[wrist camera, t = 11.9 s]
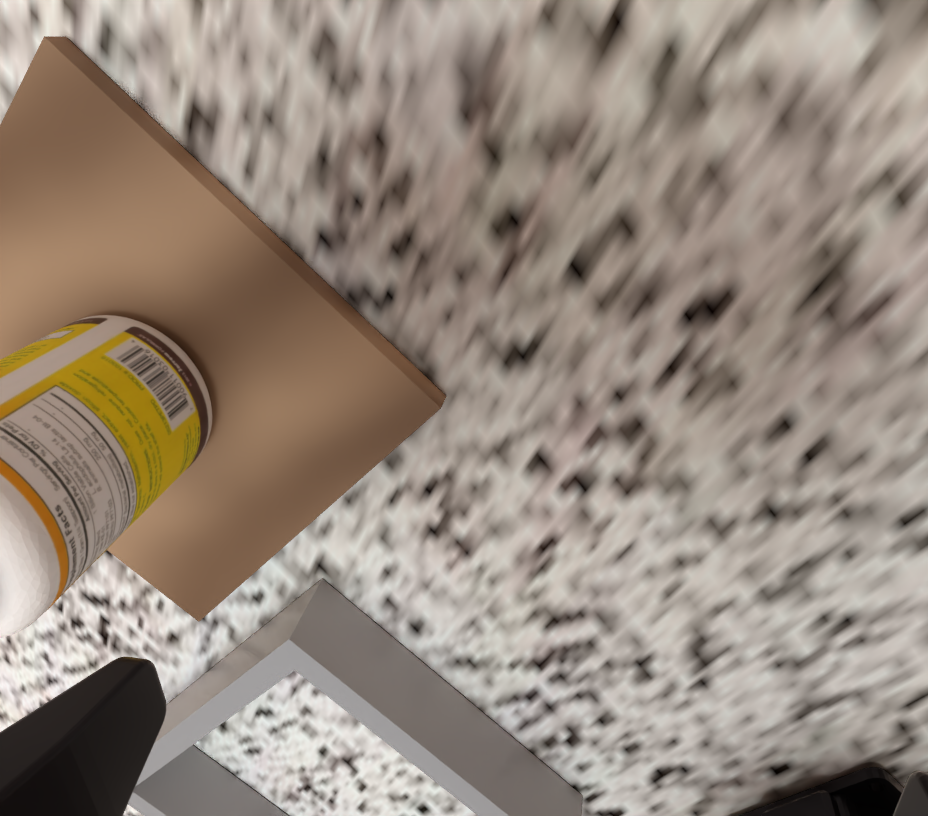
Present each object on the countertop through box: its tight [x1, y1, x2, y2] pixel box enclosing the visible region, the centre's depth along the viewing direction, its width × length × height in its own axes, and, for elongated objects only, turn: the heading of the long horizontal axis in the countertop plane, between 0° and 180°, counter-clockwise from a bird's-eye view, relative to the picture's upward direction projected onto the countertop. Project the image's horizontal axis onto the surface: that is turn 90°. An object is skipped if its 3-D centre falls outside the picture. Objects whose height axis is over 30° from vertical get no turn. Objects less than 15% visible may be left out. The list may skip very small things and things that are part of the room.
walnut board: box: [0, 37, 446, 621], centre depth 23 cm, size 14×14×1 cm
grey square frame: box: [128, 579, 582, 816], centre depth 29 cm, size 14×14×3 cm
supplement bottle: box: [0, 315, 212, 638], centre depth 18 cm, size 6×6×10 cm
